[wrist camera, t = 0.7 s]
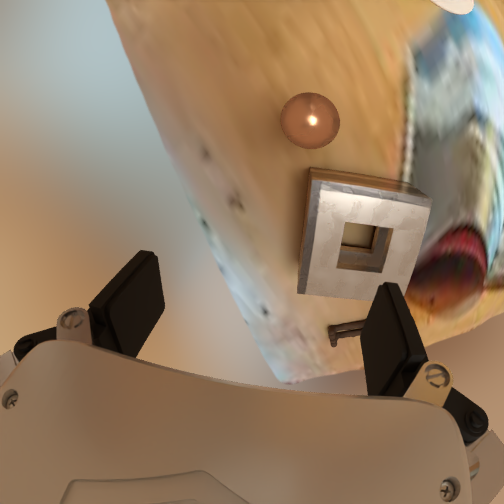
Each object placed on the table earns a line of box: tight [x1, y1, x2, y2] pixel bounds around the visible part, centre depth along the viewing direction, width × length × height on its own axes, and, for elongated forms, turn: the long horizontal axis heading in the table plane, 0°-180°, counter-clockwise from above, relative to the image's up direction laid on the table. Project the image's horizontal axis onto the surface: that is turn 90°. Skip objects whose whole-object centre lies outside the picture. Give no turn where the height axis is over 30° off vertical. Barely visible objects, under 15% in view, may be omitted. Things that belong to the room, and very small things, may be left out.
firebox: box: [297, 167, 432, 301], centre depth 33 cm, size 14×14×8 cm
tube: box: [281, 93, 340, 149], centre depth 24 cm, size 4×4×17 cm
